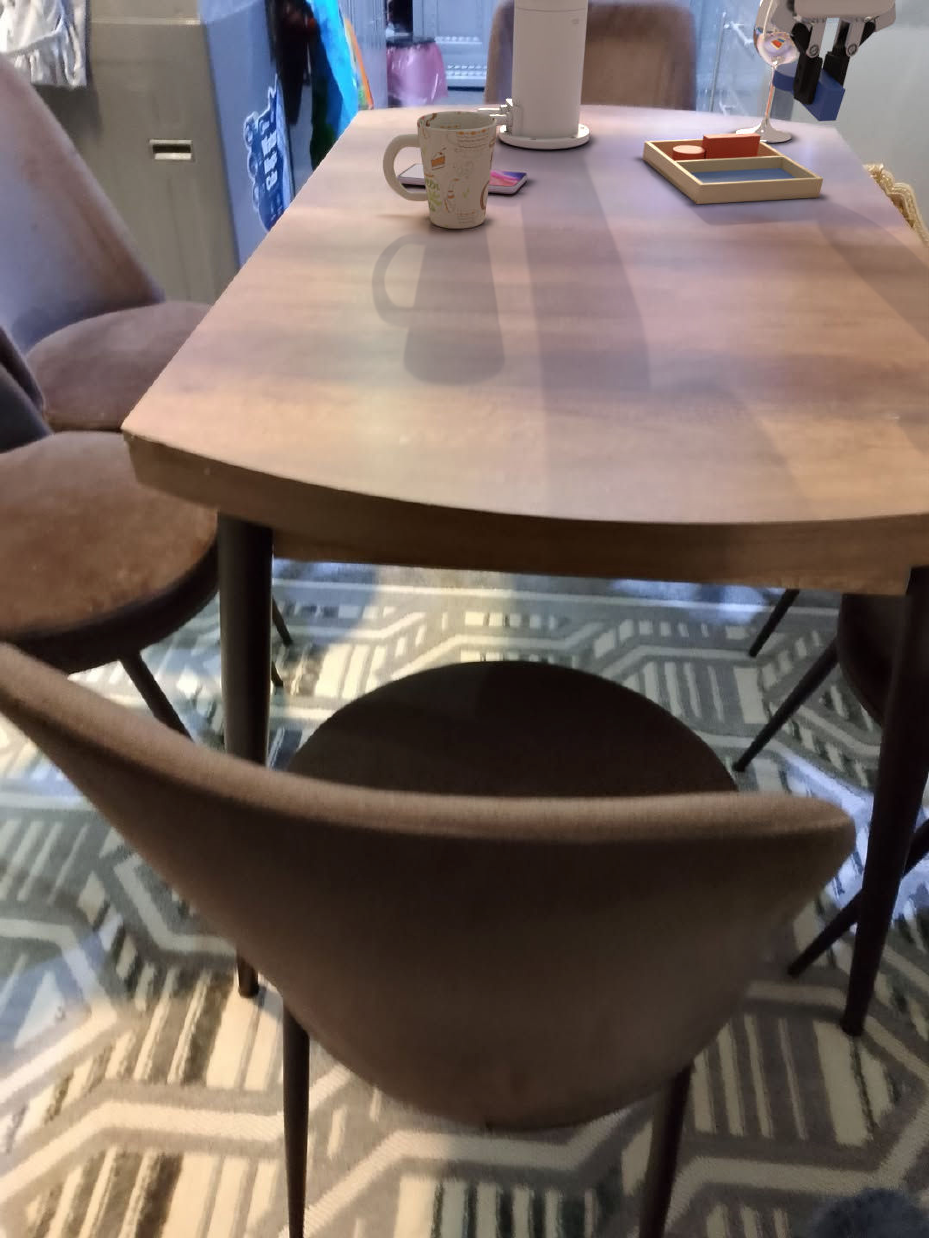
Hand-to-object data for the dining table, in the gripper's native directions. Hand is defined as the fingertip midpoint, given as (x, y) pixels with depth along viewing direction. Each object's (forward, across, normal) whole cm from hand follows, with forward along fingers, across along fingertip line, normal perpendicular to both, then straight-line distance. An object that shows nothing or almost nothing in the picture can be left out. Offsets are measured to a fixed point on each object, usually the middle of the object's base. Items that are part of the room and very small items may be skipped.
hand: (814, 100), depth 90 cm
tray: (+13, -2, -21) cm, 24 cm away
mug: (+13, +36, -10) cm, 40 cm away
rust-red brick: (+12, -2, -25) cm, 28 cm away
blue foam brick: (0, 0, -2) cm, 2 cm away
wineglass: (+13, -14, -39) cm, 43 cm away
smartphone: (+13, +31, -23) cm, 41 cm away
